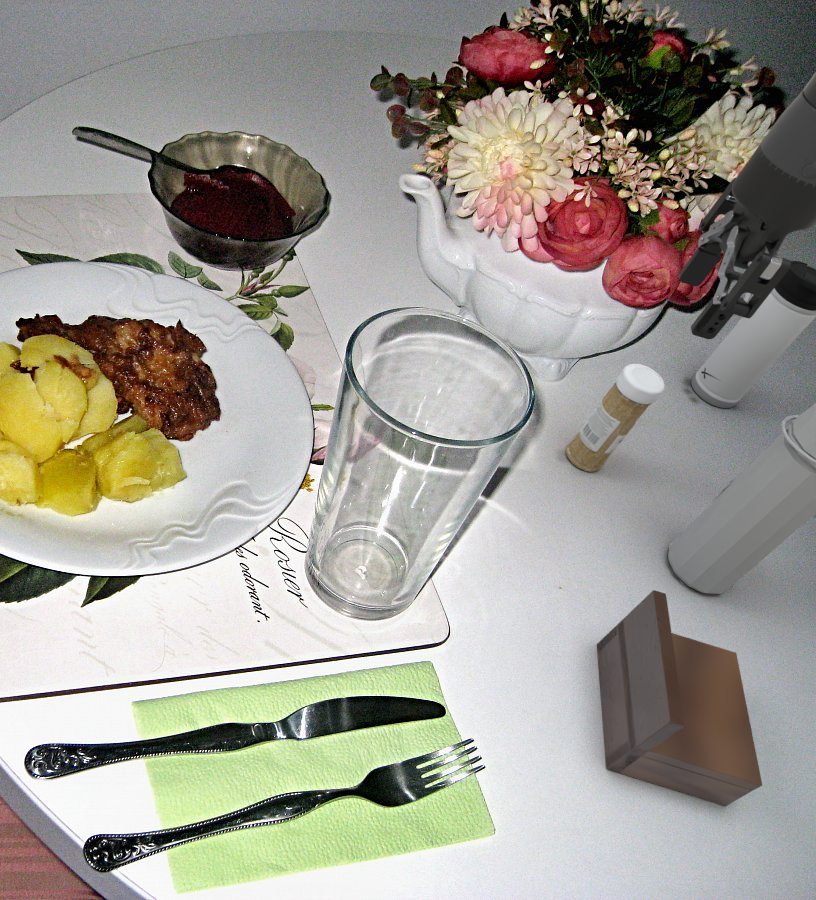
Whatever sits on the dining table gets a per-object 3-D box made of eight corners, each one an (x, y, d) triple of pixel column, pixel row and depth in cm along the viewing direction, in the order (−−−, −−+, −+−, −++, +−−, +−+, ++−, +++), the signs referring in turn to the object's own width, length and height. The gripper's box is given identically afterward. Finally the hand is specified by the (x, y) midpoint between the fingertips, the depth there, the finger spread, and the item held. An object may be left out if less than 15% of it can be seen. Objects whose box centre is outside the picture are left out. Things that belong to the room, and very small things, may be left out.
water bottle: (738, 607, 94) (922, 454, 76) (667, 588, 94) (834, 430, 75) (719, 538, 100) (886, 381, 82) (653, 520, 100) (804, 359, 82)
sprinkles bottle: (606, 474, 104) (672, 394, 94) (570, 471, 103) (633, 390, 93) (594, 444, 106) (656, 363, 97) (559, 441, 106) (618, 359, 96)
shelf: (704, 676, 87) (771, 625, 80) (726, 806, 79) (803, 762, 71) (596, 643, 87) (653, 589, 80) (606, 769, 79) (670, 721, 71)
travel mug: (684, 392, 117) (786, 271, 102) (696, 367, 121) (795, 247, 106) (730, 417, 115) (840, 298, 100) (740, 391, 119) (847, 273, 104)
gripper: (874, 217, 70) (744, 366, 82) (829, 132, 79) (719, 276, 91) (781, 190, 70) (665, 342, 82) (748, 108, 79) (648, 255, 91)
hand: (693, 307), depth 87 cm, fingers open, 8 cm apart
